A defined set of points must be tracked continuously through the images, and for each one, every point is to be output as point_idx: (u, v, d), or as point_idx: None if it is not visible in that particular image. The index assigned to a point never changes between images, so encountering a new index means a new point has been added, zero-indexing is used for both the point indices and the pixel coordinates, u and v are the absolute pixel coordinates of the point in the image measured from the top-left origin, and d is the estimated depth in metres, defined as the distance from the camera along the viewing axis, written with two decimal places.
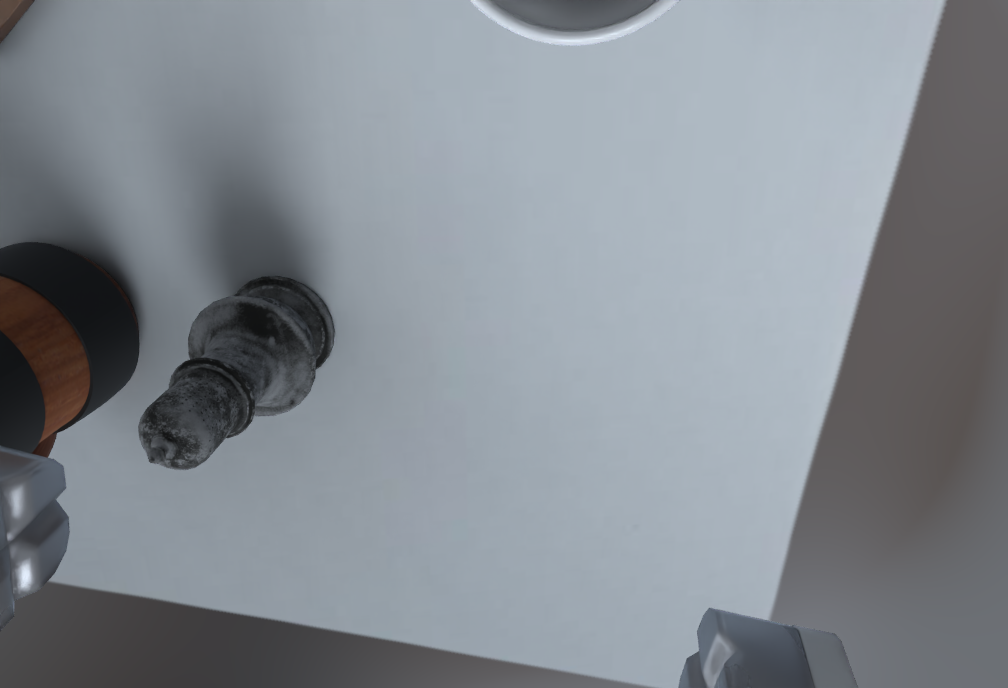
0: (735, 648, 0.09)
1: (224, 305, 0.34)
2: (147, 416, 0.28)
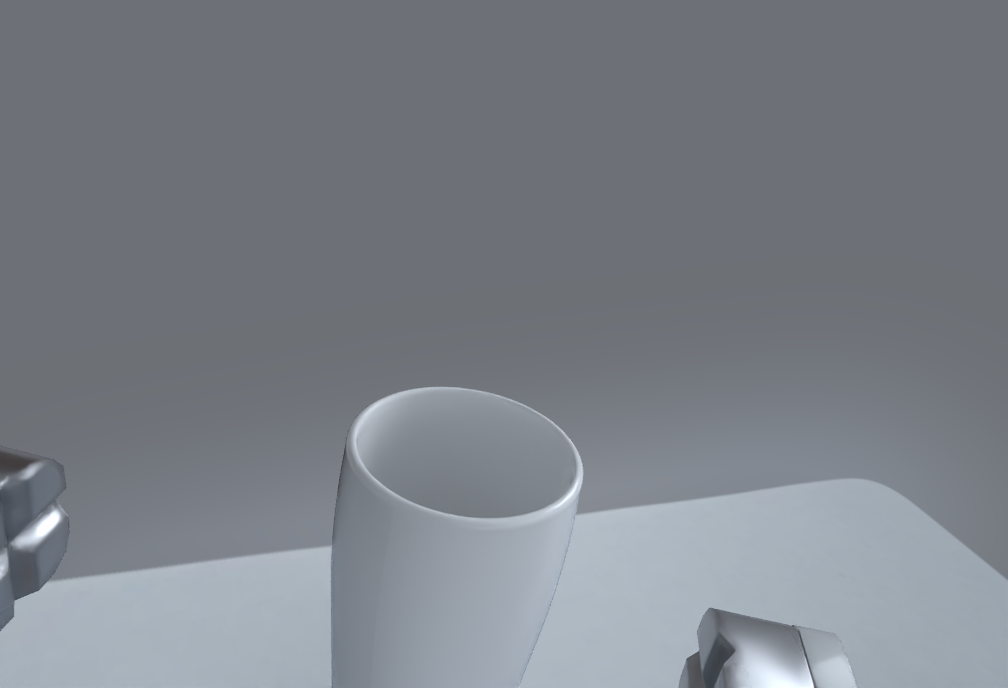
0: (735, 648, 0.09)
1: None
2: None
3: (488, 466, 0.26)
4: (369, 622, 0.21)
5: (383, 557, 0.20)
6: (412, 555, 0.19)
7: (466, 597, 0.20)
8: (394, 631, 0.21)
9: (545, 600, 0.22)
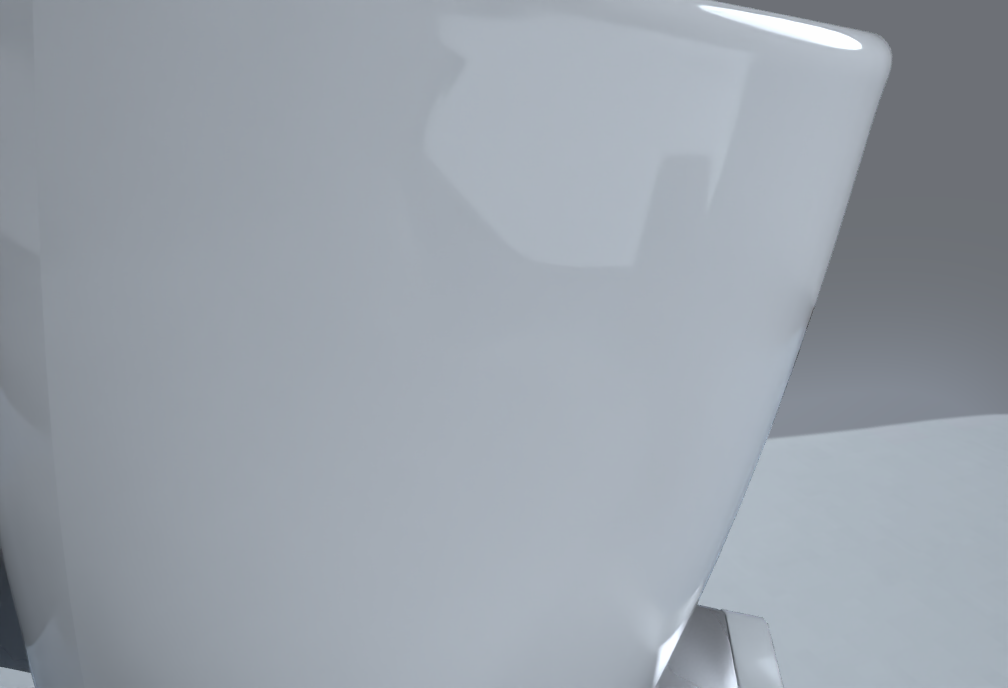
0: None
1: None
2: None
3: None
4: (51, 587, 0.05)
5: (33, 256, 0.04)
6: (149, 212, 0.04)
7: (439, 450, 0.04)
8: (135, 622, 0.05)
9: (735, 508, 0.06)
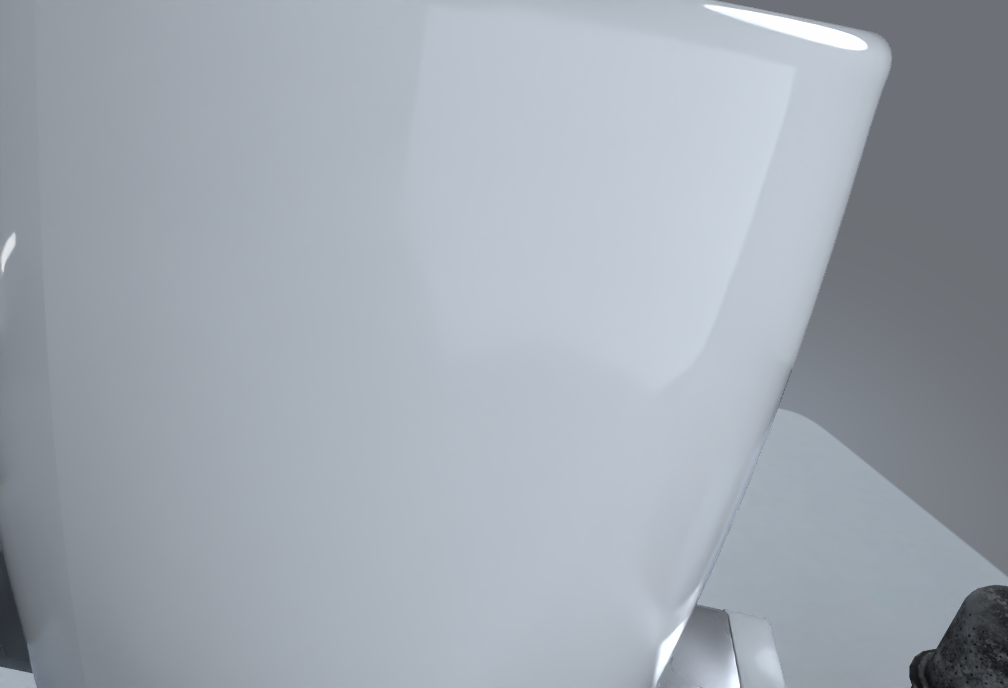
0: None
1: None
2: None
3: None
4: (53, 585, 0.05)
5: (33, 254, 0.04)
6: (150, 210, 0.04)
7: (440, 448, 0.04)
8: (137, 620, 0.05)
9: (735, 507, 0.06)
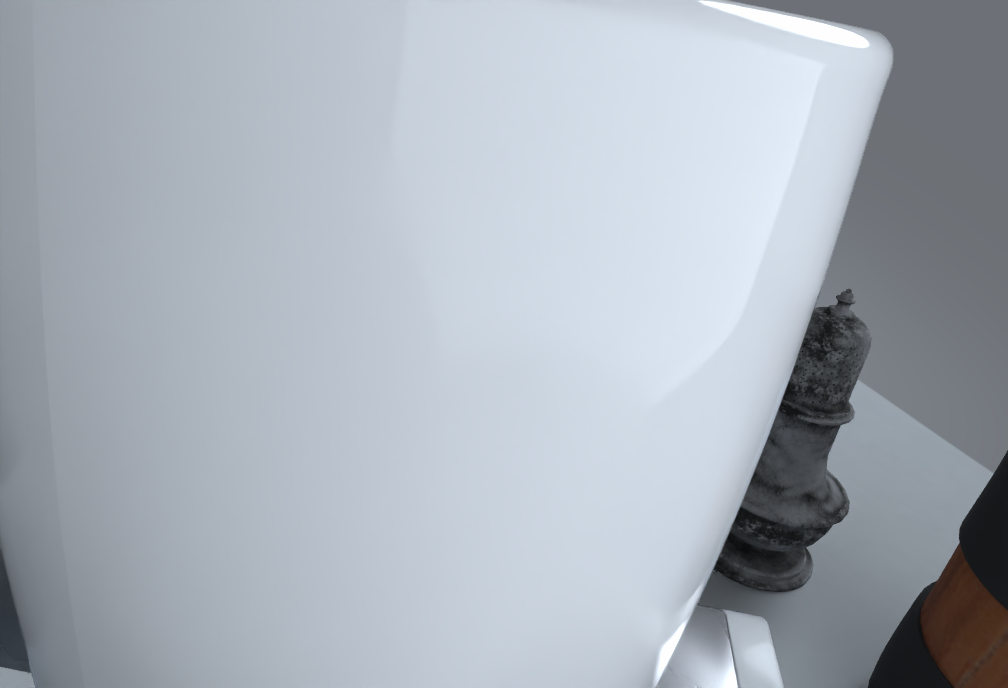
0: None
1: (745, 498, 0.30)
2: (832, 332, 0.28)
3: None
4: (51, 586, 0.05)
5: (32, 254, 0.04)
6: (148, 209, 0.04)
7: (440, 448, 0.04)
8: (135, 621, 0.05)
9: (736, 507, 0.06)
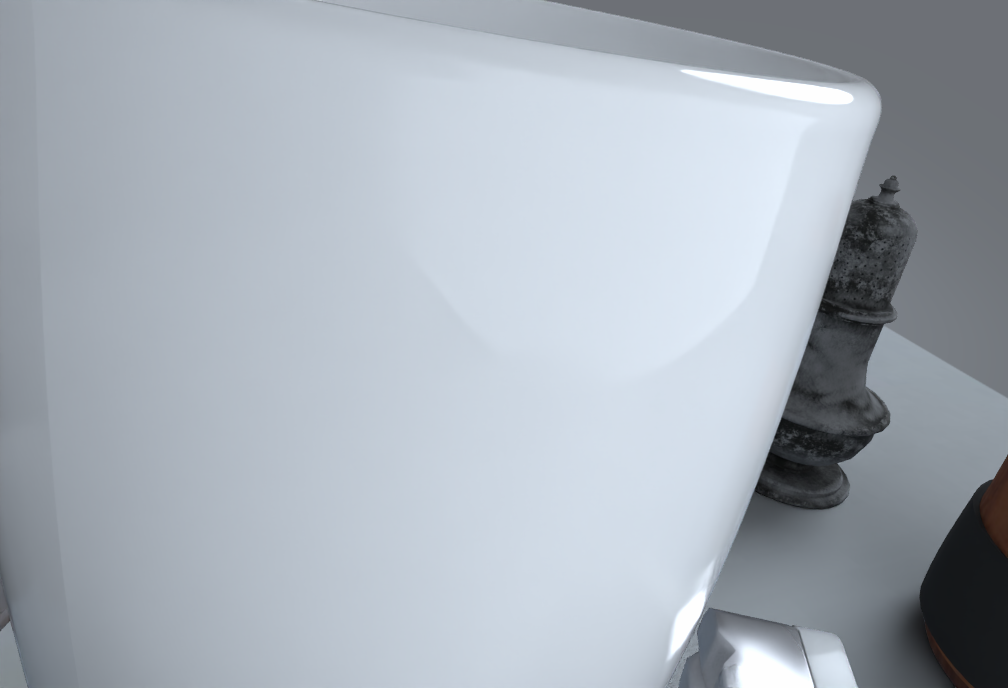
0: (735, 648, 0.09)
1: None
2: (877, 220, 0.26)
3: None
4: (53, 629, 0.05)
5: (35, 313, 0.04)
6: (148, 275, 0.04)
7: (436, 503, 0.04)
8: (136, 666, 0.05)
9: (729, 544, 0.06)
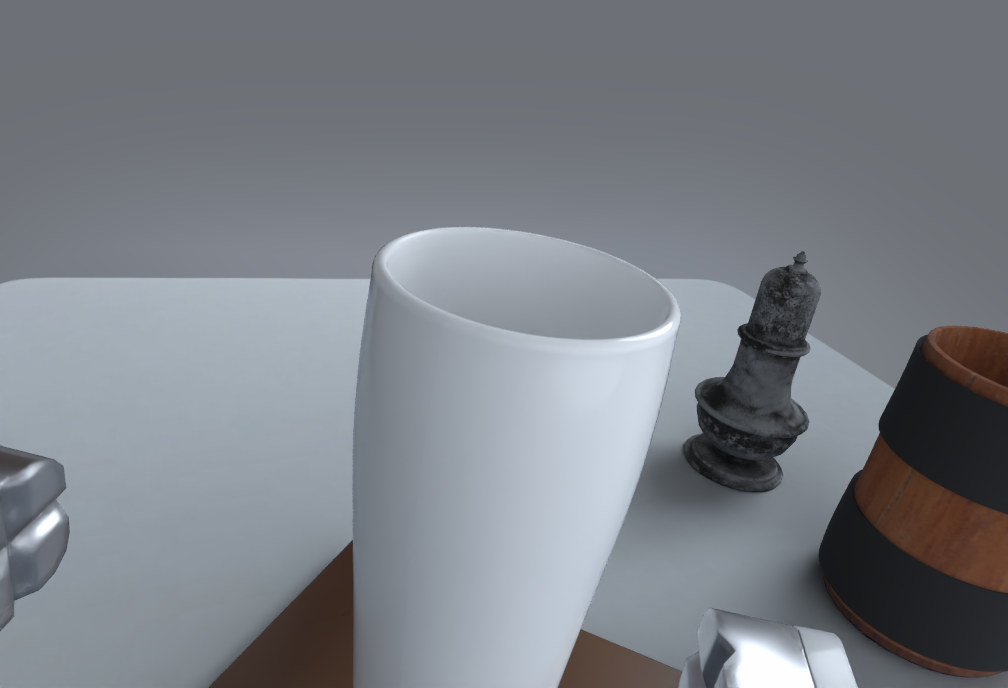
0: (735, 648, 0.09)
1: (727, 416, 0.39)
2: (790, 284, 0.37)
3: (544, 335, 0.21)
4: (407, 500, 0.16)
5: (427, 402, 0.15)
6: (468, 394, 0.14)
7: (540, 454, 0.15)
8: (441, 509, 0.16)
9: (634, 474, 0.17)
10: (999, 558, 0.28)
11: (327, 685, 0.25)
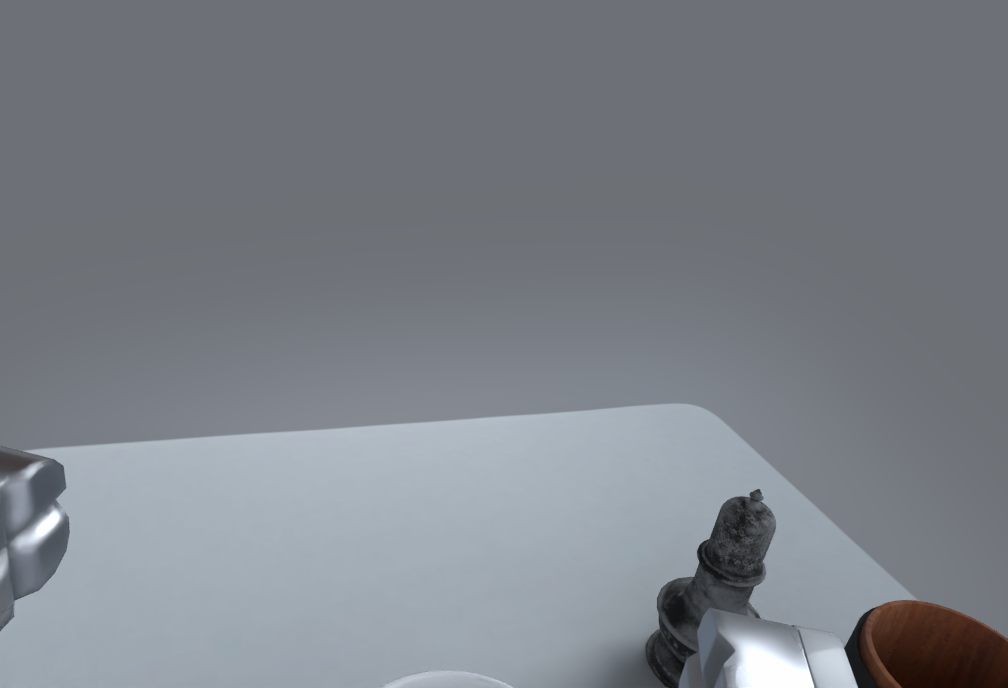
0: (735, 648, 0.09)
1: (685, 636, 0.41)
2: (745, 523, 0.39)
3: None
4: None
5: None
6: None
7: None
8: None
9: None
10: None
11: None
